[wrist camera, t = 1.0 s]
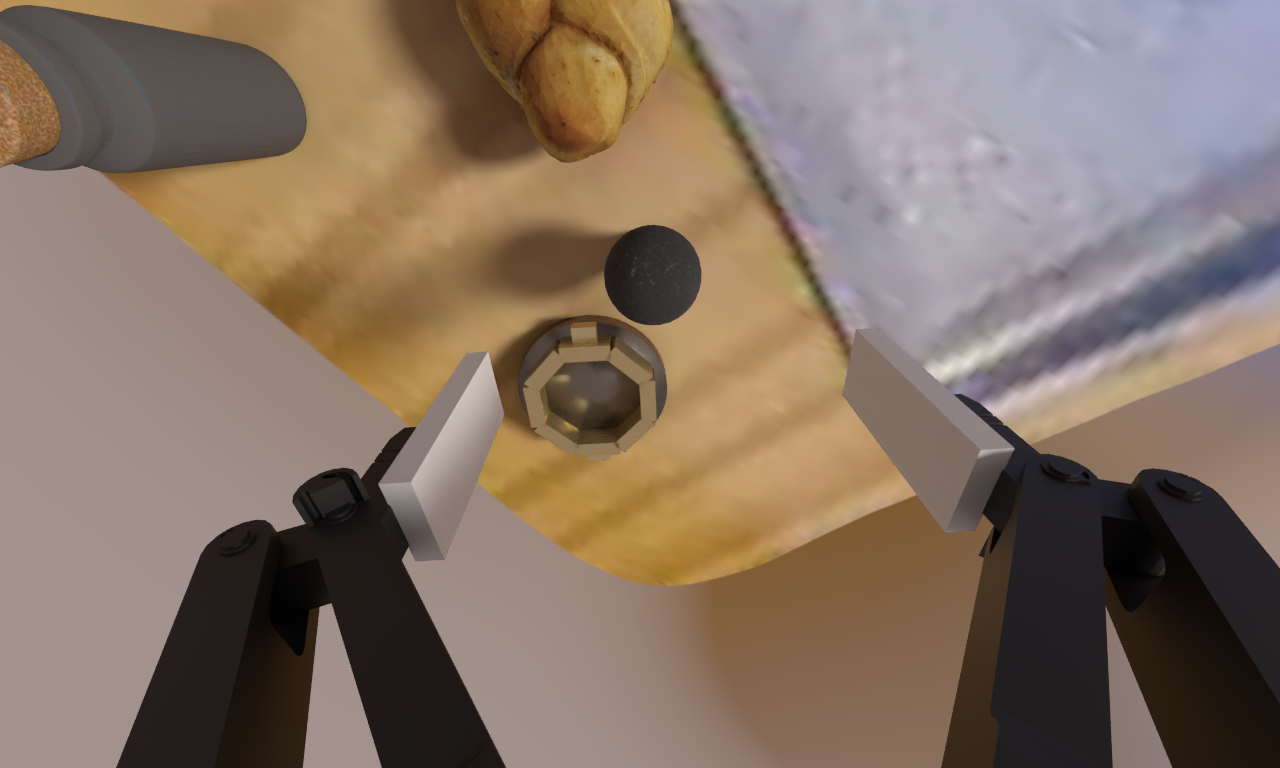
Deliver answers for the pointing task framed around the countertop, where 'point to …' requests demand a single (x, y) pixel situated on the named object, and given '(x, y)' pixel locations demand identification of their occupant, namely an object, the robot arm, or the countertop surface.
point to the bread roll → (572, 63)
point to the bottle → (136, 96)
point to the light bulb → (652, 275)
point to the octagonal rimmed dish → (592, 385)
